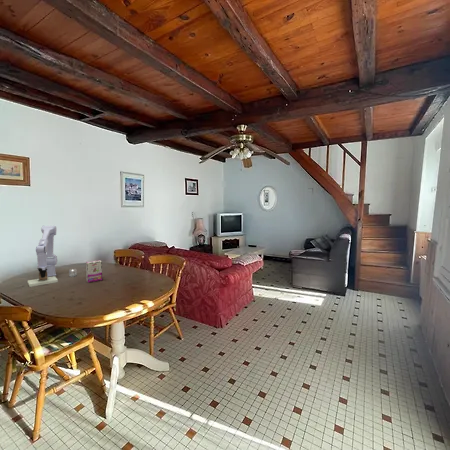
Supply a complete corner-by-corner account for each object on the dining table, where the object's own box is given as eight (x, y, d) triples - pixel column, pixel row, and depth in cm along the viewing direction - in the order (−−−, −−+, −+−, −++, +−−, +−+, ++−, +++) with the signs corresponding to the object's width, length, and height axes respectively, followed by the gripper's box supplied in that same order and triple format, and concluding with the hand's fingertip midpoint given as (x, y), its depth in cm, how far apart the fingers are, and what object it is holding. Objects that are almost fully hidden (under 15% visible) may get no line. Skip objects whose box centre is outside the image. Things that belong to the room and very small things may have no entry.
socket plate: (27, 283, 192) (27, 280, 192) (54, 278, 204) (54, 276, 204) (29, 286, 183) (29, 284, 183) (57, 282, 196) (57, 279, 196)
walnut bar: (39, 279, 193) (38, 272, 193) (46, 278, 197) (46, 271, 196) (39, 280, 191) (39, 273, 191) (47, 279, 195) (47, 271, 194)
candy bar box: (101, 278, 207) (100, 260, 206) (102, 280, 203) (102, 261, 202) (86, 281, 200) (85, 261, 199) (87, 282, 196) (87, 263, 195)
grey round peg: (68, 276, 212) (68, 269, 212) (75, 274, 216) (75, 268, 216) (70, 277, 208) (70, 270, 208) (77, 276, 212) (77, 269, 212)
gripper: (49, 261, 190) (50, 278, 191) (46, 258, 200) (47, 274, 201) (38, 262, 185) (39, 279, 186) (35, 259, 195) (36, 275, 196)
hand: (42, 277), depth 193 cm, fingers closed on walnut bar, 3 cm apart
